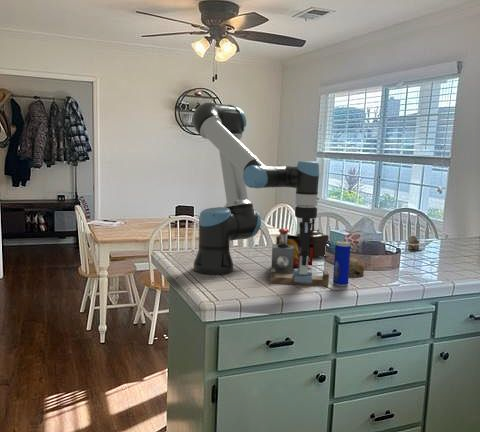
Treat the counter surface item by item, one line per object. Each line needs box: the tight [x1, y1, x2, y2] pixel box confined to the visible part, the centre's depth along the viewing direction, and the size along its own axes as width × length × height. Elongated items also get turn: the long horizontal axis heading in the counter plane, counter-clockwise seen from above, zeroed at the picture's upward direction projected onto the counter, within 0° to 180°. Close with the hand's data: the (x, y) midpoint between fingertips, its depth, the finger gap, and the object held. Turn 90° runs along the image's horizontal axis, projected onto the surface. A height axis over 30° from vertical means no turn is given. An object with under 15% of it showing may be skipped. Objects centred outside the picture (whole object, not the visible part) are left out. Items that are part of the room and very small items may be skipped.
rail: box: [269, 267, 330, 287], centre depth 169 cm, size 20×6×4 cm, turn 85°
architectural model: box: [406, 234, 422, 251], centre depth 236 cm, size 3×7×7 cm, turn 119°
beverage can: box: [332, 240, 352, 287], centre depth 167 cm, size 5×5×15 cm
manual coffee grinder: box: [296, 218, 330, 259], centre depth 218 cm, size 16×11×18 cm
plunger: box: [278, 228, 290, 248], centre depth 181 cm, size 4×4×7 cm
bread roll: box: [349, 257, 365, 278], centre depth 184 cm, size 10×10×8 cm
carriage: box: [293, 247, 313, 283], centre depth 169 cm, size 6×8×11 cm
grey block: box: [270, 243, 294, 274], centre depth 182 cm, size 8×9×10 cm
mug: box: [275, 234, 314, 270], centre depth 193 cm, size 10×14×12 cm
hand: (302, 272), depth 169 cm, fingers closed on carriage, 4 cm apart
